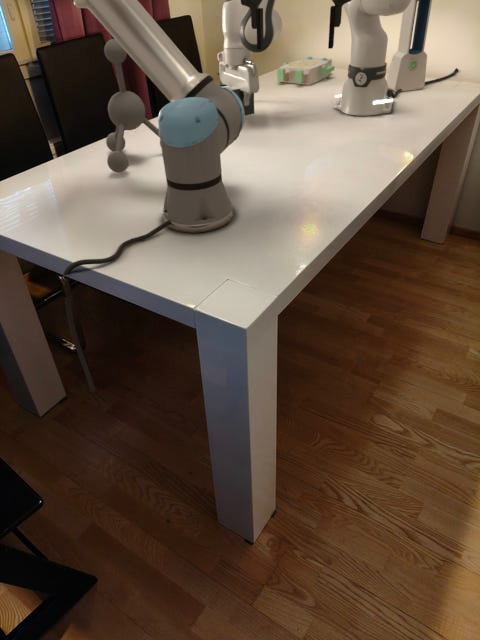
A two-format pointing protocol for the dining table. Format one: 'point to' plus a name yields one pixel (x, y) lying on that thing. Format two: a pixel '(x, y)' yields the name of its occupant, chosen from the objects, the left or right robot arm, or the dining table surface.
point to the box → (249, 108)
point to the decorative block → (305, 71)
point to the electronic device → (411, 62)
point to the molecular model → (122, 111)
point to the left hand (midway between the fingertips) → (295, 48)
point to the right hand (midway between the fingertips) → (240, 102)
